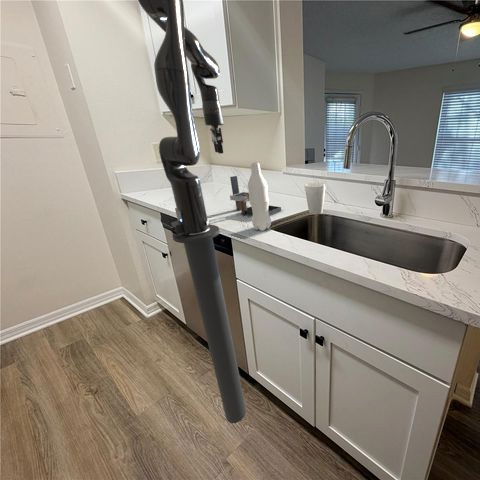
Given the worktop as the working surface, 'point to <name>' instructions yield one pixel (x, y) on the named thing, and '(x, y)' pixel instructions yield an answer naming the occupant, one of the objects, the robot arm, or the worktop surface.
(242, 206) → the cradle
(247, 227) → the worktop surface
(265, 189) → the water bottle
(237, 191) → the gray angle bracket
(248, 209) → the tray
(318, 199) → the foam cup
